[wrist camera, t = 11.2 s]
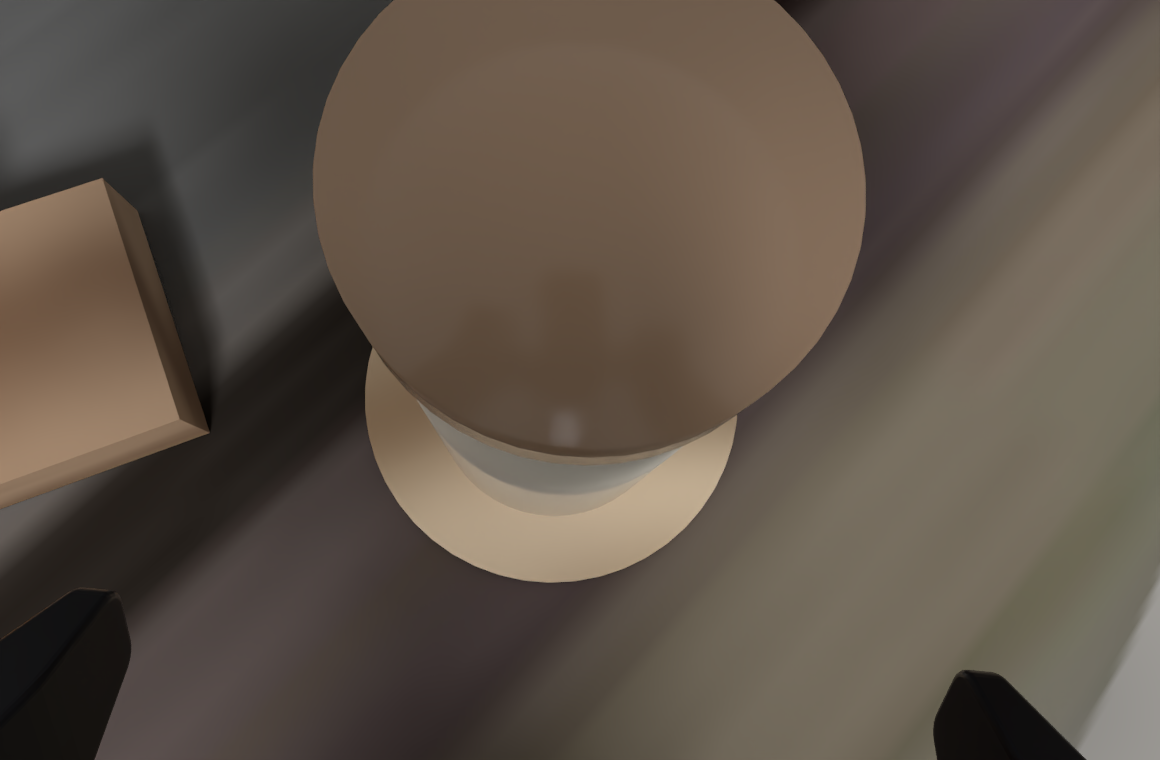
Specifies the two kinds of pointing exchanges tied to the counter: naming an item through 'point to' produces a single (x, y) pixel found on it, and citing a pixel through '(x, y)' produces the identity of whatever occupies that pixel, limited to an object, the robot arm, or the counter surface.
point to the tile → (84, 344)
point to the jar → (586, 224)
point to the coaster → (526, 539)
